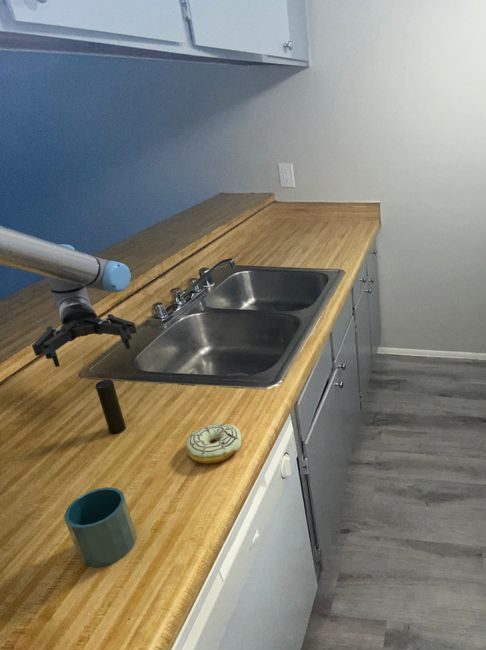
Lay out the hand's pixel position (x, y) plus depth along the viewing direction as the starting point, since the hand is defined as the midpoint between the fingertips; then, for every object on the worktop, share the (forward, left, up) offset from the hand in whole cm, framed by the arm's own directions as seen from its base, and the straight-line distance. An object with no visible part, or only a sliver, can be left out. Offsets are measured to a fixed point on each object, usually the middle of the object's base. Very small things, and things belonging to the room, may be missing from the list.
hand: (92, 352), depth 104 cm
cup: (+42, -7, -15) cm, 45 cm away
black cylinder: (+10, 0, -15) cm, 18 cm away
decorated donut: (+29, +15, -15) cm, 36 cm away
